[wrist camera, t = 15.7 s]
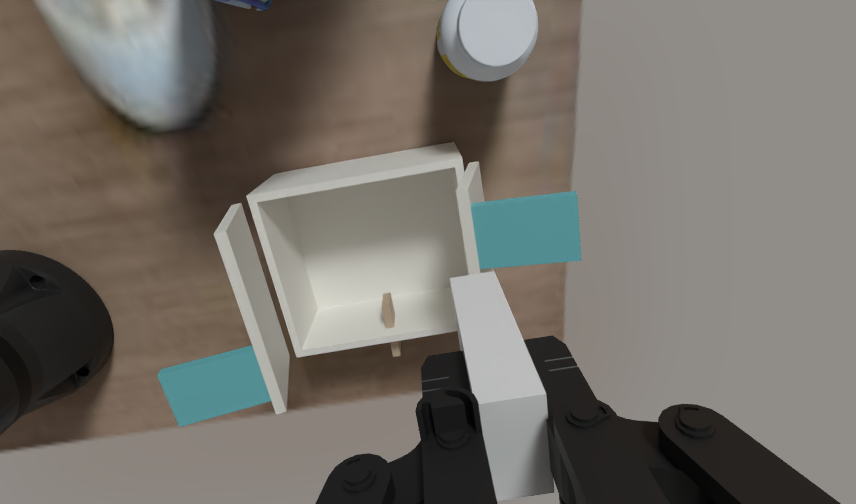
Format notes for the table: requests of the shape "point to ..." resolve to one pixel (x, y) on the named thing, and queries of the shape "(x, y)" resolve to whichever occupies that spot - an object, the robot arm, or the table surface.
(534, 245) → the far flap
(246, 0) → the lunch box
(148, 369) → the table surface
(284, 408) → the flap
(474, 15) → the pill bottle
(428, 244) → the carton
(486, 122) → the table surface
